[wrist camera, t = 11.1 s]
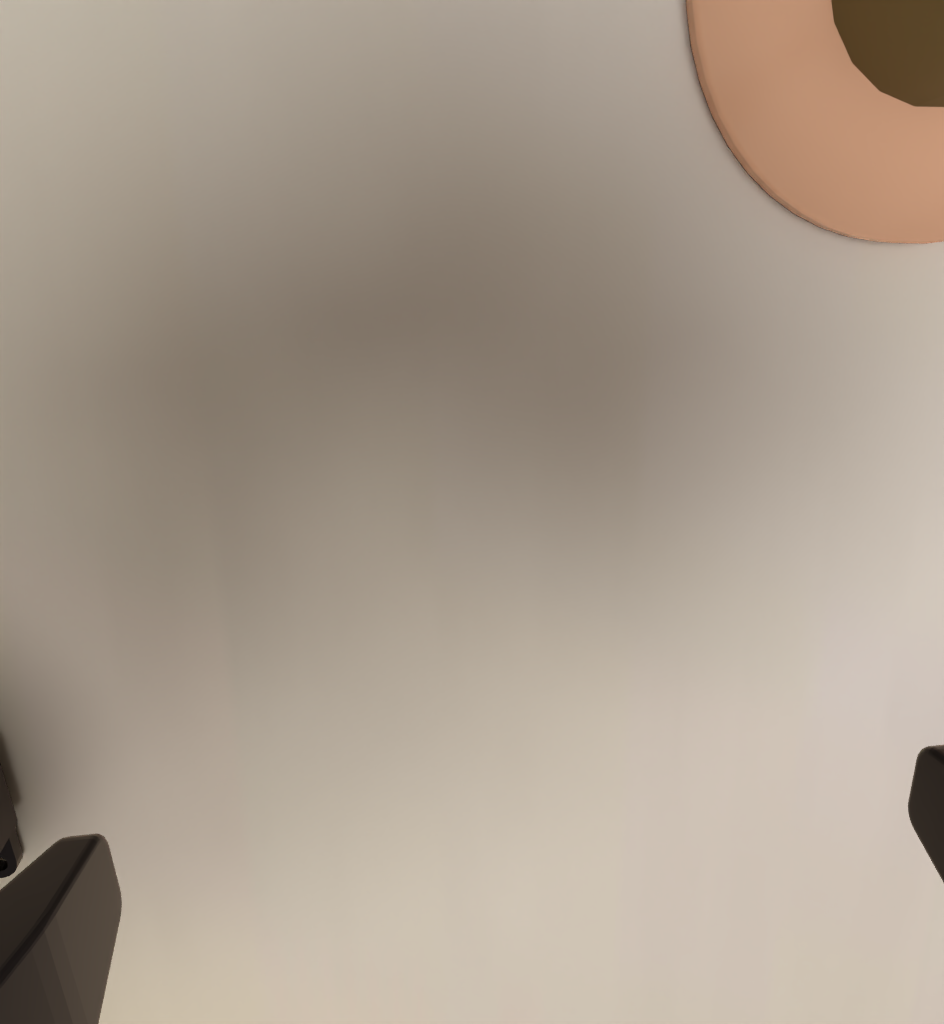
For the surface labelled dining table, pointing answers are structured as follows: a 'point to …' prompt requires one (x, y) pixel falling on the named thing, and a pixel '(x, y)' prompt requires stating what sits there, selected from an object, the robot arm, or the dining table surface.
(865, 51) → the olive bulb shape
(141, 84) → the dining table surface
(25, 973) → the robot arm
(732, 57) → the coaster
